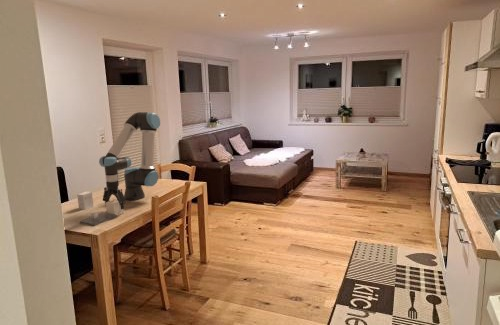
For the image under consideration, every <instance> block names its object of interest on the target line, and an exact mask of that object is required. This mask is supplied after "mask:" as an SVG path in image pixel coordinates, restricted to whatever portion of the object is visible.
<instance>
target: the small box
mask: <svg viewBox="0 0 500 325" xmlns="http://www.w3.org/2000/svg"><path fill="white" fill-rule="evenodd" d="M77 204H78V209H79V210H86V209H89V208H92V207H94V199H93V192H92V191H88V190H87V191H86V190H85V191H84V192H83V191H82V192H80V193H78V194H77Z"/></svg>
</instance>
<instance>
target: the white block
mask: <svg viewBox="0 0 500 325" xmlns="http://www.w3.org/2000/svg"><path fill="white" fill-rule="evenodd" d="M121 203H122V202H121ZM119 204H120V203H119V202H118V200H117V198H116V199H111V200H109V201H108V202H106V204H105V206H106V205H107V209H106V213H110V214H115V215H117V216H118V214H119V215H120V210H119Z"/></svg>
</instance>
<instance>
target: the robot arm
mask: <svg viewBox="0 0 500 325" xmlns="http://www.w3.org/2000/svg"><path fill="white" fill-rule="evenodd" d="M160 126H161V118H160V116H159V115H158V114H157V113H155V112H153V111H152V112H150V111H148V112H146V111H142V112H140V111H139V112H138V111H137V112H134V113H133V114H132V115H130V117H128V118H127V120H126V121H125V122H124V124H123V128H122V130H121V131H120V132H119V135H118V136H117V137H116V139H115V140H114V142H113V144H112V145H111V146H110V148H109V150H108V152H107V153H106V155H103V156H101V157H99V160H98V163H99V165H100V166H101V167H103V168H104V173H105V181H106V182H105V184H106V187H103V190H104V191H103V195H102V201H103V202H104V203H105V207H106V208H105V209H106V210H107V205H106V202H108V201H110V199H111V197H112V195H113V196H114V197H115V198H116V200H118V202H119V203H120V204H119V210H120V213H119V215H123V214H125V211H124V209H125V206H124V205H125V204H126V202H127V201H136V200H142V199H145V192H144V189H143V186H144V187H154V186H155V185H156V184H157V183H158V181H159V178H160V176H159V173H158V171H157V170H156V167H155V166H154V161H155V160H154V158H155V157H154V156H155V154H154V153H155V133H156V132H158V130H157V129H159V128H160ZM139 129H140V130H139ZM137 130H139V131H140V133H141V164H140V166H135V167H131V166H132V160H131V158H130V157H129V156H123V157H119V156H120V155H121V153H122V152H123V150H124V148H125V147H126V145H127V144H128V142H129V140H130V139H131V137H132V136H133V134H134V133H136V132H137ZM120 170H124V171H123V172H124V177H123V178H124V184H125V185H124V187H125V189H124V193H123V188H119V182H120V181H119V174H118V172H119V171H120ZM121 202H122V203H121Z"/></svg>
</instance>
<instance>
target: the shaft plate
mask: <svg viewBox="0 0 500 325" xmlns="http://www.w3.org/2000/svg"><path fill="white" fill-rule="evenodd" d="M117 217H118V214H117V215H115V214H110V213H107V212H104V211H103V212H102V213H101V212H100V213H98V212H90V217H87V218H84V219H83V220H80V221H79V223H80V224H82V225H88V226H92V227H95V226H97V225H100V224H103V223H105V222H108V221H110V220H113V219H115V218H117Z"/></svg>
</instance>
